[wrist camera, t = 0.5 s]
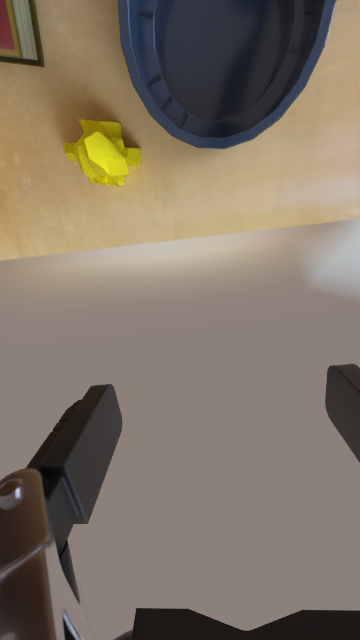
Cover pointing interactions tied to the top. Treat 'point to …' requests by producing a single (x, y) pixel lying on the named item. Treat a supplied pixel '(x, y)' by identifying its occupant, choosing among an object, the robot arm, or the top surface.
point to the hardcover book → (20, 33)
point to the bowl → (221, 62)
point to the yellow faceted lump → (103, 152)
